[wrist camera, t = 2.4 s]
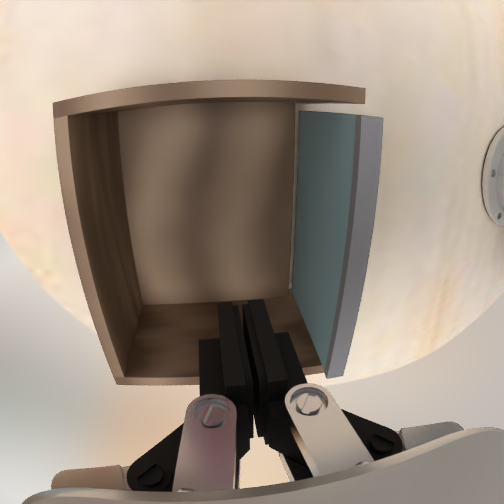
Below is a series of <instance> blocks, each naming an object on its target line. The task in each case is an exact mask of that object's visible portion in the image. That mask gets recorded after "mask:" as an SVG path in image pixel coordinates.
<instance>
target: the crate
mask: <svg viewBox="0 0 504 504" xmlns="http://www.w3.org/2000/svg"><path fill="white" fill-rule="evenodd" d="M295 103H304V104H317V103H351V104H365V88H359V87H352V86H344V85H335V84H325V83H313V82H299V81H280V80H213V81H193V82H179V83H168V84H158V85H149V86H141V87H133V88H126V89H119V90H113V91H107V92H101V93H96V94H91V95H86V96H81V97H76V98H72V99H67V100H63V101H59V102H54V103H53V117H54V132H55V143H56V153H57V162H58V170H59V177H60V184H61V191H62V197H63V203H64V208H65V214H66V219H67V224H68V229H69V234H70V238H71V243H72V247H73V252H74V256H75V260H76V264H77V268H78V272H79V275H80V279H81V283H82V286H83V290H84V293H85V297H86V300H87V303H88V307H89V310H90V313H91V316H92V319H93V322H94V325H95V328H96V331H97V334H98V337H99V340H100V343H101V345H102V348H103V351H104V353H105V356H106V359H107V361H108V364H109V367H110V369H111V372H112V374H113V377H114V379H115V381H116V384H118V385H200V384H199V339H214V338H220V336H219V324H218V312H217V302H230V301H232V305H238V307H239V313H240V318H241V323H242V328H243V314H242V305H243V304H248V300H256V299H263V300H264V303H265V306H266V309H267V312H268V315H269V319H270V322H271V325H272V328H273V331H274V333H280V332H288V333H289V335H290V337H291V340H292V343H293V346H294V348H295V351H296V354H297V356H298V359H299V362H300V364H301V367H302V370H303V372H304V375H311V374H318V373H324V369H323V366H322V364H321V361H320V359H319V356H318V354H317V351H316V349H315V346H314V344H313V341H312V339H311V337H310V334H309V332H308V329H307V327H306V324H305V322H304V319H303V317H302V315H301V312H300V310H299V307H298V305H297V303H296V300H295V298H294V295H293V293H292V289H288V288H289V271H290V253H291V233H292V210H293V183H294V147H295Z"/></svg>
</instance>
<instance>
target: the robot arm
mask: <svg viewBox="0 0 504 504" xmlns="http://www.w3.org/2000/svg"><path fill="white" fill-rule="evenodd" d="M482 187H483V198H484V204H485V207H486V210H487V212H488V214H489V216H490V218H491V219H492V220H493V221H494V222H495V223H497V224H499V225H500V226H502V227H504V127H503V128H502V129H501V130H500V131H499V132H498V133H497V134H496V136H495V137H494V139H493V141H492V143H491V145H490V147H489V150H488V152H487V156H486V160H485V164H484V170H483V181H482ZM217 312H218V324H219V336H220V338H214V339H199V384H200V397H198V398H196V399H194V400H193V401H192V402H191V403H190V404H189V405H188V408H187V410H186V415H185V420H184V423H183V424H182V425H181V426H179V427H178V428H177V429H176V430H175V431H173V432H172V433H171V434H169V435H168V436H167V437H166V438H164V439H163V440H162V441H161V442H159V443H158V444H157V445H155V446H154V447H153V448H152V449H150V450H149V451H148V452H146V453H145V454H144V455H142V456H141V457H140V458H138V459H137V460H136V461H135V462H134V463H133V464H132V465H131V466H126V467H121V466H120V465H115V466H106V467H96V468H86V469H73V470H64V471H61V472H59V473H58V474H56V475H55V477H54V478H53V480H52V485H51V490H48V491H44V492H40V493H37V494H35V495H32V496H30V497H28V498H27V499H26V500H25V501H24V502H23V503H22V504H504V430H502V429H499V428H494V427H483V428H482V427H480V428H472V429H466V430H464V429H463V428H462V427H461V426H460V425H459V424H457V423H454V422H442V423H436V424H430V425H423V426H416V427H409V428H401V430H400V431H396V432H395V431H393V430H392V429H389V428H387V427H385V426H382V425H379V424H377V423H374V422H372V421H369V420H367V419H364V418H362V417H359V416H357V415H354V414H352V413H349V412H347V411H345V410H342V409H340V407H339V406H338V404H337V403H336V401H335V399H334V398H333V396H332V395H331V394H330V392H329V391H328V390H327V389H325V388H324V387H322V386H320V385H316V384H310V383H307V381H306V378H305V375H304V372H303V370H302V367H301V364H300V362H299V359H298V356H297V354H296V351H295V348H294V346H293V343H292V340H291V337H290V335H289V333H288V332H280V333H274V331H273V328H272V325H271V322H270V319H269V315H268V312H267V309H266V306H265V303H264V300H263V299H256V300H248V304H243V305H242V314H243V328H242V323H241V318H240V313H239V307H238V305H232V301H230V302H217ZM253 414H254V419H255V424H256V429H257V435H258V437H264V440H265V444H266V445H267V444H269V447H271V448H272V449H274V450H276V451H278V452H279V457H280V459H281V461H282V463H283V466H284V468H285V470H286V472H287V475H288V477H289V479H290V481H291V482H288V483H281V484H275V485H269V486H260V487H252V488H243V489H239V486H240V459H241V458H242V457H243V456H244V455H245V454H246V453H247V452H248V451H249V449H250V438H253Z"/></svg>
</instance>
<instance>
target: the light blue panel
mask: <svg viewBox="0 0 504 504" xmlns="http://www.w3.org/2000/svg"><path fill="white" fill-rule="evenodd" d="M382 134H383V118H381V117H373V116H364V115H354V114H344V113H331V112H316V111H299V143H298V177H297V203H296V225H295V244H294V262H293V278H292V293H293V295H294V298H295V300H296V303H297V305H298V307H299V310H300V312H301V315H302V317H303V319H304V322H305V324H306V327H307V329H308V332H309V334H310V337H311V339H312V341H313V344H314V346H315V349H316V351H317V354H318V356H319V359H320V361H321V364H322V366H323V369H324V373H325V375H326V378H327V379H328V378H334V377H340V376H343V374H344V370H345V366H346V362H347V358H348V355H349V350H350V346H351V342H352V338H353V334H354V329H355V325H356V320H357V316H358V311H359V306H360V302H361V297H362V291H363V286H364V281H365V275H366V270H367V264H368V258H369V252H370V246H371V239H372V232H373V225H374V218H375V210H376V202H377V193H378V184H379V173H380V162H381V149H382Z"/></svg>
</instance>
